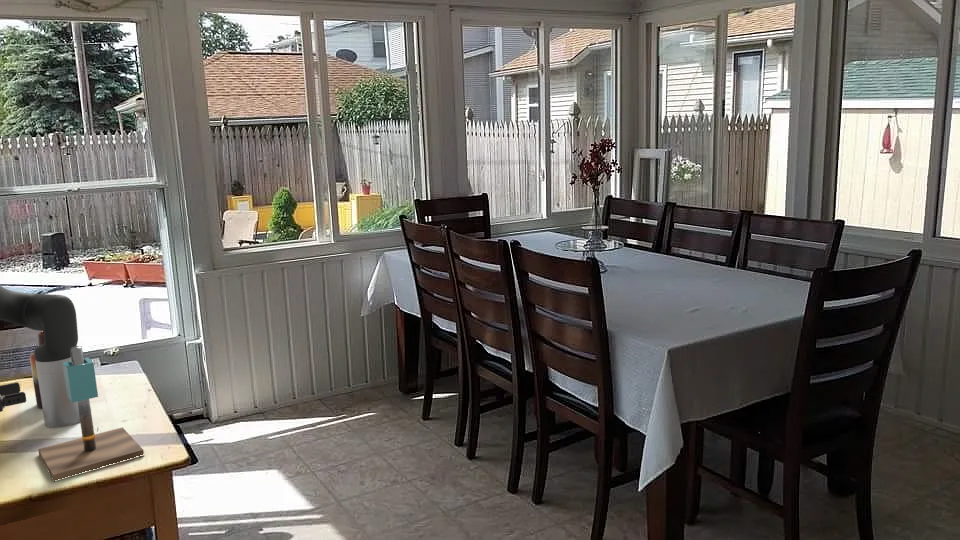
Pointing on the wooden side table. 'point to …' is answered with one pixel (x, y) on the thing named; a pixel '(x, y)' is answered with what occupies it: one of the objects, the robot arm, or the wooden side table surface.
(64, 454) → the stand board
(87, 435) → the pipe
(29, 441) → the wooden side table surface
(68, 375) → the sleeve
